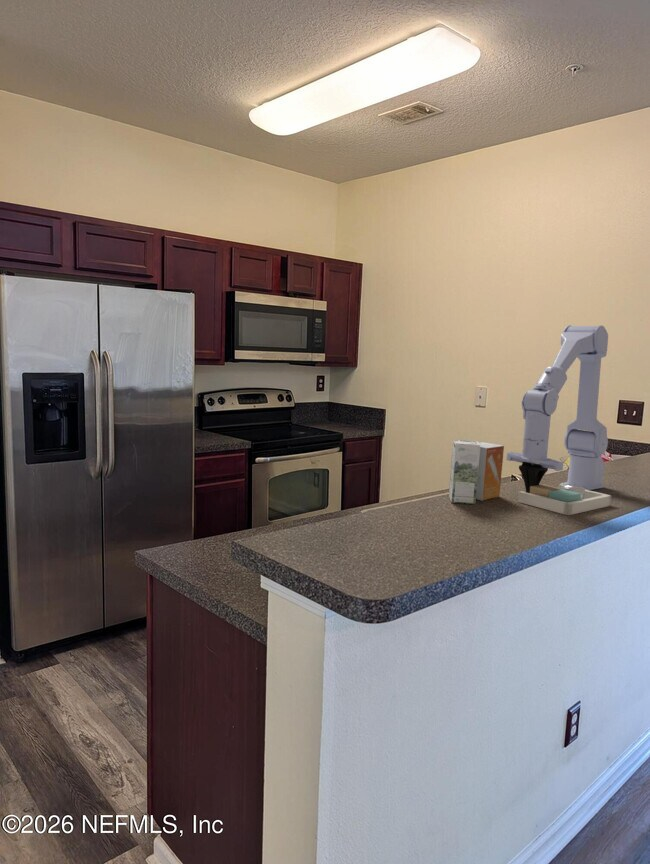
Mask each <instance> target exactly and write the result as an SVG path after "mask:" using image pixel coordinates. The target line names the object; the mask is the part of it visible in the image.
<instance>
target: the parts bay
mask: <svg viewBox="0 0 650 864" xmlns="http://www.w3.org/2000/svg"><path fill="white" fill-rule="evenodd" d="M557 488H561V489H563V484H561V483H560V484H558V487H557ZM517 503H521V504H525V505H528V506H532V507H536V508H539V509H543V510H546V511H551V512H554V513H557V514H562V515H565V516H572V515H575V514H576V515H577V514H579V513H584V512H589V511H593V510H597V509H598V510H599V509H602V508H607V507H610V506H611V504H612V495H610V494H606V493H602V492H597V491H593V490H585V495H584V499H583V500H578V501H573V502H568V503H567V502H563V501H559V500H555V499H551V498H547V497H543V496H539V495H535V494H531V493H527V492H526V491H523V490H521V491H518V494H517Z"/></svg>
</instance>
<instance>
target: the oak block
mask: <svg viewBox="0 0 650 864" xmlns="http://www.w3.org/2000/svg"><path fill="white" fill-rule="evenodd" d="M559 489H561V488H558V487H556V486H552V485H549V484H542V483H541V484H539V485H535V486H530V493H531V494H535V495H539V496H543V497H547V498H549V491H553V490H559Z"/></svg>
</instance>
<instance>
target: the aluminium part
mask: <svg viewBox="0 0 650 864" xmlns="http://www.w3.org/2000/svg"><path fill="white" fill-rule="evenodd" d="M563 489H564V490H568V491H572V492H576V493H581V498H580V500H583V499H584V495H585V487H584V486H582V485H577V484H563Z"/></svg>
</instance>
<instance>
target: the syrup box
mask: <svg viewBox="0 0 650 864" xmlns="http://www.w3.org/2000/svg"><path fill="white" fill-rule="evenodd" d="M479 443H480V442H479V441H478V440H468V439H467V440H466V439H453V441H452V449H451V451H452V452H451V464H450V477H449V488H448V498H449V500H450V502H451V503H452V504H453V503H454V504H464V503H465V505H476V491H477V479H478V468H479V457H480V444H479Z"/></svg>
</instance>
